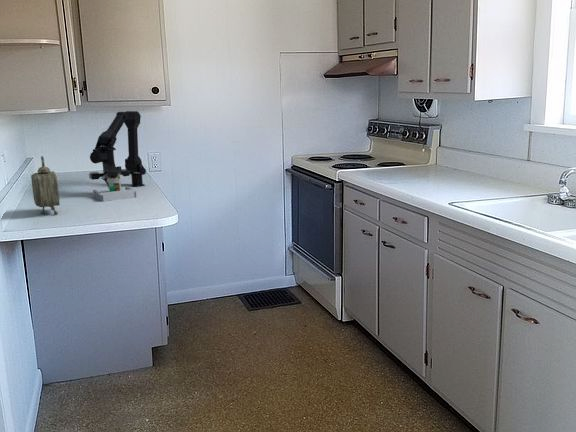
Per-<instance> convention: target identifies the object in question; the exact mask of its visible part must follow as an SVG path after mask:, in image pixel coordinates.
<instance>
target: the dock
mask: <svg viewBox="0 0 576 432" xmlns="http://www.w3.org/2000/svg"><path fill="white" fill-rule="evenodd" d="M92 193H93V194H92V195H93V197H95V199H97V200H98V201H99V202H109V201H116V200H117V201H118V200H126V199H133V198H137V189H136V188H131V187H129V186H128V185H127V186H125V189H123V190H122V189H121V191H113V192H110V191H107V192H99V191H98V190H96V189H93V191H92Z"/></svg>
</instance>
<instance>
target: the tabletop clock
mask: <svg viewBox="0 0 576 432" xmlns="http://www.w3.org/2000/svg"><path fill="white" fill-rule="evenodd" d="M40 159H41V166H40V167H38V169H37V172H35V173H32V174H31V175H30V177H31V178H30V180H31V186H32V187H31V188H32V196H33V201H34V204H35V206H36V207H39V208H42V209H41V211H40V214H42V215H43V214H45V213H46V212H45V208H47V207H49V208H50V210H52V211H53V214H54V215H55V216H57V215H58V214H59V212H58V211H57V210H55V209H56V207H57V206H60V202H61V201H60V194H59V193H60V192H59V185H58V177H57V173H56V172H55V171H53V170H51V169H50V167H48V166H46V165H45V158H44V156H43V155H41V156H40Z"/></svg>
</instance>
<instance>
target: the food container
mask: <svg viewBox="0 0 576 432" xmlns="http://www.w3.org/2000/svg"><path fill="white" fill-rule="evenodd" d="M107 182H108V184H109V188H108V190H109V192H113V191H122V185H121V175H118V177H111V178H110V177H108V178H107Z"/></svg>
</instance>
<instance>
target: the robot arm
mask: <svg viewBox="0 0 576 432" xmlns="http://www.w3.org/2000/svg"><path fill="white" fill-rule="evenodd" d="M141 118H142V116H141V114H140V112H139V111H137V110H125V111H118V112H116V114H115V117H114V119H113V120H112V122H111V124H110V125H109V126H108V128H107V129H106V130H105V131H103V132H101V134H100V135H98V137H97V140H96V141H97V142H96V143H95V144H96V145H95V146H94V148H93V149H92V152H91V153H90V154H89V159H90V161H91V162H92V164H99V163H100V164H102V172H98V171H94V172H93V171H92V172H89V173H88V176H89V177H88V178H89V179H90V180H99V179H101V180H103V181H104V182H105V184H106V187H107V189H109V184H108V182H107V178H108V177H110V178H111V177H118V175H120V176H122V177H130V176H131V183H130V184H129V185H130V186H131V187H133V188H135V187H142V186H146V184H145V183H143V182H144V181H143V176H144V175H146V173H147V169H146V168H145V167H144V166H143V164H142V163H143V162H142V159H141V157H140V155H139V141H138V140H139V139H138V137H139V136H138V128H139V126H140V124H141ZM123 125H125V127H126V128H127V145H128V146H127V147H128V148H127V149H128V156H127V157H126V158H125V160H124V167H125V168H122V166H120V165H118V166H116V163H115V155H114V154H115V153H114V151H117V149H116V148H115V147H114V146H115V144H116V143H117V142H116V141H117V135H118V133H119V131H120V130H121V128H122V127H123Z"/></svg>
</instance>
